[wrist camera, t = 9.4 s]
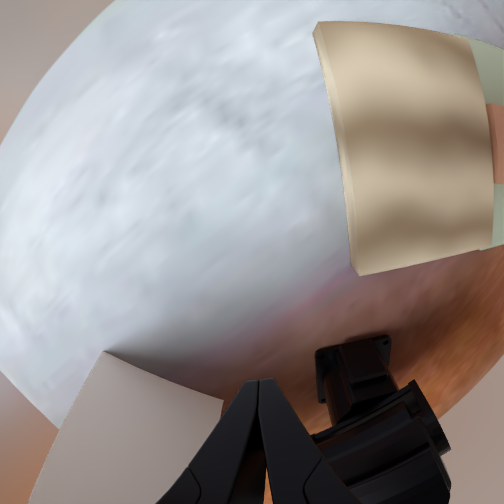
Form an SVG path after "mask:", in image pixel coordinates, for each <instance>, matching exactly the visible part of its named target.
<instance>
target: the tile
mask: <svg viewBox="0 0 504 504" xmlns="http://www.w3.org/2000/svg"><path fill="white" fill-rule="evenodd" d="M485 106H486V111H487V117H488V124H489V131H490V139H491V149H492V161H493V181H494V183H496V184H504V106H500V105H496V104H485Z"/></svg>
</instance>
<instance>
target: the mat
mask: <svg viewBox="0 0 504 504" xmlns="http://www.w3.org/2000/svg"><path fill="white" fill-rule="evenodd" d="M453 36H457V37H461V38H465V39H468V40H469V43H470V46H471V49H472V53H473V56H474V59H475V63H476V66H477V70H478V74H479V78H480V82H481V86H482V91H483V95H484V100H485V104H496V105H500V106H504V49H502V48H499V47H496V46H493V45H491V44H488V43H485V42H482V41H478V40H475V39H472V38H469V37H465V36H461V35H458V34H453ZM503 244H504V184H496V183H494V212H493V233H492V245H491V246H489V247H485V248H481V249H479V250H480V251H481V250H485V249H488V248H492V247H496V246H499V245H503Z"/></svg>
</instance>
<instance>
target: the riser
mask: <svg viewBox="0 0 504 504" xmlns="http://www.w3.org/2000/svg"><path fill="white" fill-rule="evenodd" d="M312 34H313V37H314V41H315V45H316V48H317V52H318V56H319V60H320V64H321V68H322V72H323V76H324V80H325V85H326V89H327V94H328V98H329V103H330V108H331V113H332V118H333V123H334V129H335V134H336V140H337V146H338V152H339V158H340V165H341V172H342V179H343V187H344V195H345V203H346V213H347V223H348V233H349V246H350V260H351V266H352V267H353V268H354V269H355V271H356V272H357V273H358V275H359V276H364V275H369V274H374V273H378V272H383V271H388V270H393V269H397V268H402V267H406V266H411V265H415V264H420V263H424V262H428V261H433V260H437V259H441V258H445V257H449V256H454V255H458V254H462V253H466V252H470V251H473V250H477V249H481V248H485V247H489V246H491V245H492V233H493V212H494V181H493V161H492V149H491V139H490V131H489V124H488V117H487V111H486V106H485V100H484V95H483V91H482V86H481V82H480V78H479V74H478V70H477V66H476V63H475V59H474V56H473V53H472V49H471V46H470V43H469V40H468V39H465V38H461V37H457V36H453V35H449V34H445V33H440V32H436V31H431V30H425V29H420V28H413V27H407V26H399V25H391V24H381V23H368V22H345V21H323V22H318V23H317V25H316V27H315V29H314V31H313V33H312Z"/></svg>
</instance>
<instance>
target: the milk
mask: <svg viewBox="0 0 504 504" xmlns="http://www.w3.org/2000/svg"><path fill="white" fill-rule="evenodd" d="M223 401H224V400H221V399H218V398H215V397H212V396H209V395H206V394H203V393H200V392H197V391H195V390H192V389H189V388H186V387H184V386H181V385H178V384H176V383H173V382H171V381H168V380H166V379H163V378H161V377H158V376H156V375H154V374H151V373H149V372H147V371H144V370H142V369H140V368H137V367H135V366H133V365H131V364H129V363H127V362H124V361H122V360H120V359H118V358H116V357H114V356H112V355H110V354H108V353H106V352H104V351H103V352H102V353H101V355H100V357H99V358H98V360H97V362H96V363H95V365H94V367H93V369H92V370H91V372H90V374H89V376H88V377H87V379H86V381H85V383H84V385H83V386H82V388H81V390H80V392H79V394H78V396H77V397H76V399H75V401H74V403H73V405H72V407H71V409H70V411H69V413H68V415H67V417H66V418H65V420H64V422H63V424H62V426H61V428H60V430H59V432H58V435H57V437H56V439H55V441H54V443H53V445H52V447H51V449H50V451H49V454H48V456H47V458H46V460H45V462H44V465H43V467H42V469H41V472H40V474H39V476H38V478H37V481H36V483H35V486H34V488H33V491H32V493H31V496H30V498H29V501H28V504H155V503H156V502H157V501H158V500H159V499H160V498H161V497H162V496H163V495H164V494H165V493H166V492H167V491H168V490H169V489H170V487H171V486H172V485H173V484H174V483H175V481H176V480H177V479H178V478H179V476H180V475H181V474H182V472H183V471H184V470H185V468H186V467H188V464H189V463H190V462H191V460H192V459H193V457H194V456H195V455H196V453H197V452H198V450H199V449H200V448H201V446H202V445H203V443H204V442H205V440H206V439H207V438H208V436H209V435H210V433H211V432H212V430H213V429H214V427H215V426H216V424H217V423H218V422H219V420H220V416H221V411H222V406H223Z"/></svg>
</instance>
